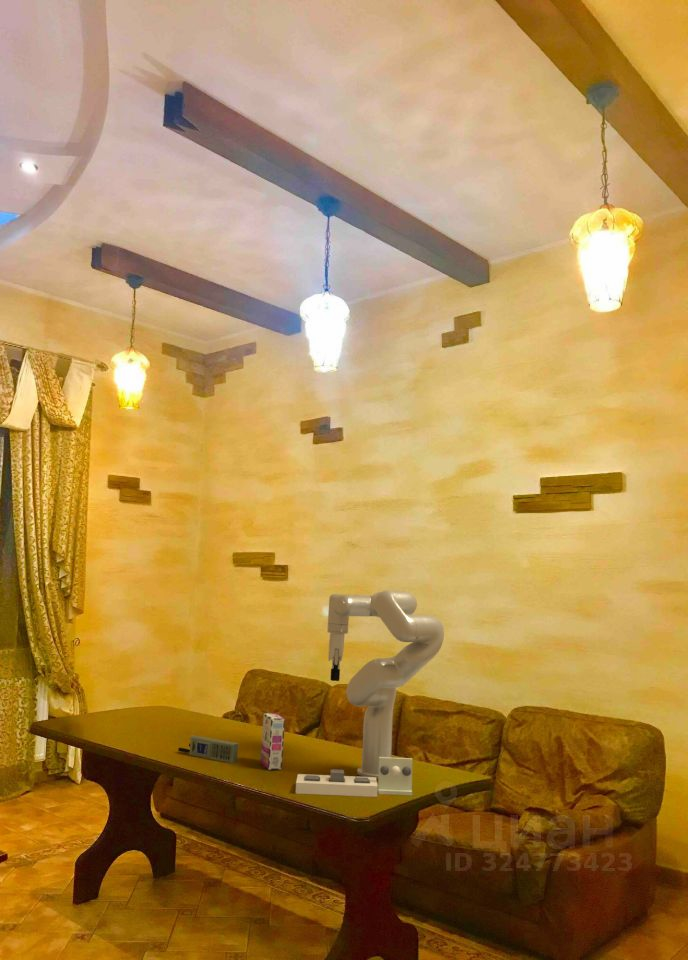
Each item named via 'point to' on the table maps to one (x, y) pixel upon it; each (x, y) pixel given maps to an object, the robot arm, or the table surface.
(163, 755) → the table surface
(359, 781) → the right button
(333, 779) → the middle button
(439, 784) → the table surface
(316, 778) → the left button
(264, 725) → the candy bar box
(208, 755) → the handheld radio
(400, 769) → the pattern placard
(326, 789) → the button board
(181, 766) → the table surface
